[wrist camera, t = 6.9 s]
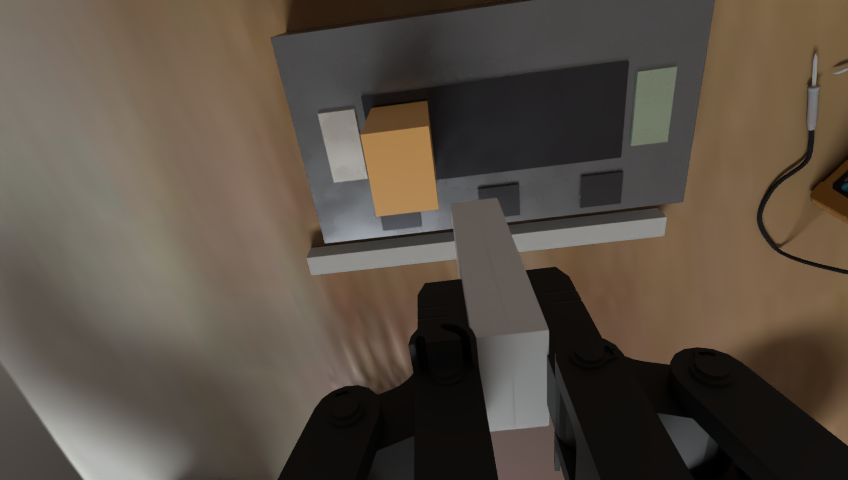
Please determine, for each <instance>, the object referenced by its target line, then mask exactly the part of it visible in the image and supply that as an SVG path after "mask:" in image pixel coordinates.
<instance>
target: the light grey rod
mask: <svg viewBox="0 0 848 480" xmlns="http://www.w3.org/2000/svg"><path fill="white" fill-rule="evenodd" d="M666 220H667V217H666V216H665V215H664V214H663V213H662V212H661V211H660V210H659V209H658V208H653V209H644V210H635V211H627V212H618V213H609V214H601V215H592V216H583V217H575V218H566V219H557V220H549V221H540V222H531V223H523V224H514V225H508V227H509V230H510V232H511V235H512V237H513V240H514V242H515V245H516V247H517V250H518V252H524V251H533V250H542V249H551V248H560V247H569V246H578V245H587V244H596V243H604V242H613V241H622V240H631V239H640V238H649V237H658V236H664V234H665V227H666ZM452 259H457V258H456V249H455V240H454V231H453V232H444V233H436V234H427V235H418V236H410V237H401V238H392V239H384V240H375V241H366V242H358V243H349V244H340V245H332V246H323V247H314V248H311V249H310V251H309V254H308V256H307V261H308V265H309V268H310V271H311V275H318V274H327V273H336V272H345V271H354V270H363V269H372V268H381V267H390V266H399V265H408V264H417V263H426V262H435V261H443V260H452Z"/></svg>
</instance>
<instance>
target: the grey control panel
mask: <svg viewBox="0 0 848 480" xmlns="http://www.w3.org/2000/svg"><path fill="white" fill-rule="evenodd" d="M714 2H715V0H509V1H502V2H495V3H488V4H481V5H474V6H467V7H460V8H453V9H446V10H439V11H432V12H425V13H418V14H411V15H404V16H397V17H390V18H383V19H376V20H369V21H362V22H355V23H348V24H341V25H334V26H327V27H320V28H313V29H306V30H299V31H292V32H285V33H282V34H280V35H277V36H274V37H271V42H272V45H273V49H274V53H275V57H276V60H277V64H278V68H279V72H280V76H281V79H282V83H283V87H284V91H285V94H286V98H287V102H288V106H289V109H290V113H291V117H292V121H293V125H294V128H295V132H296V136H297V140H298V143H299V147H300V151H301V155H302V158H303V162H304V166H305V170H306V173H307V177H308V181H309V185H310V189H311V192H312V196H313V200H314V204H315V207H316V211H317V215H318V219H319V222H320V226H321V230H322V234H323V238H324V241H325V243H333V242H342V241H350V240H359V239H368V238H376V237H385V236H394V235H402V234H411V233H420V232H428V231H437V230H446V229H453V222H452V213H451V204H450V203H458V202H466V201H474V200H482V199H490V198H497V199H498V201H499V204H500V207H501V209H502V212H503V214H504V217H505V219H506V222H515V221H523V220H532V219H541V218H549V217H558V216H567V215H575V214H584V213H593V212H601V211H610V210H619V209H627V208H636V207H645V206H653V205H662V204H671V203H679V202H683V199H684V193H685V187H686V180H687V174H688V167H689V161H690V155H691V148H692V142H693V136H694V129H695V123H696V116H697V110H698V104H699V97H700V91H701V85H702V78H703V72H704V65H705V59H706V53H707V46H708V40H709V34H710V27H711V21H712V14H713V8H714ZM422 101H427V103H428V112H429V120H430V128H431V136H432V144H433V153H434V161H435V169H436V180H437V193H438V205H439V209H438V210H429V211H421V212H412V213H404V214H395V215H387V216H378V217H376V212H375V207H374V202H373V197H372V192H371V187H370V182H369V177H368V172H367V167H366V162H365V156H364V151H363V146H362V141H361V136H360V134H361V132H362V129H363V127H364V124H365V122H366V120H367V117H368V115H369V112H370V110H371V108H376V107H384V106H392V105H399V104H407V103H414V102H422Z"/></svg>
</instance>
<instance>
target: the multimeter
mask: <svg viewBox="0 0 848 480" xmlns="http://www.w3.org/2000/svg"><path fill="white" fill-rule="evenodd" d="M817 61H818V59H817V55H816V53H815V56H814V59H813V74H812V85H811V86H809V87H807V90H808V108H807V127H808V130H809V141H808V152H807V156H806V158H805V160H804V161H803V162H802V163H801V164H800V165H799V166H798V167H796V168H795V169H793V170H792V171H790V172H789V173H787V174H786V175H784V176H783V177H782V178H780V179H779V180H778V181H777V182H776V183H775V184H774V185H773V186H772V187H771V188H770V189H769V191H768V192H767V194H766V196H765V197H764V199H763V201H762V203H761V205H760V208H759V211H758V215H757V222H758V226H759V229H760V231H761V233H762V235H763V237H764V238H765V239H766V241H767V242H768V243H769V245H770V246H771V247H772V248H773V249H774V250H776V251H777V252H778V253H780V254H782V255H784V256H786V257H788V258H790V259H793V260H795V261H798V262H801V263H804V264H808V265H811V266H815V267H818V268H822V269H827V270H831V271H835V272H839V273H844V274H848V270H844V269H839V268H835V267H830V266H826V265H822V264H818V263H814V262H810V261H807V260H803V259H800V258H797V257H794V256H792V255H789V254H787V253H785V252H783V251H781V250H780V249H779V248H778V247H776V246H775V244H774V243H773V242H772V241H771V240H770V238H769V237H768V235H767V234H766V232H765V230H764V227H763V224H762V213H763V210H764V207H765V205H766V203H767V201H768V199H769V197H770V196H771V194H772V193H773V191H774V190H775V189H776V188H777V187H778V185H779V184H781V183H782V182H783V181H784V180H786V179H787V178H789V177H790V176H792V175H793V174H795V173H796V172H798V171H799V170H800V169H802V168H803V167H804V166H805V165H806V164H807V163H808V162H809V160H810V159H811V156H812V152H813V144H814V129H815V127H816V123H817V113H818V96H819V89H820V85H816V78H817ZM847 70H848V67H845V68H843V69H840V70H838V71H837V72H835V73H833V74H837V73H842V72H844V71H847ZM810 197H811V201H812V202H814V203H815V204H816V205H818V206H819V207H821V208H822V209H823V210H825V211H826V212H828V213H829V214H831V215H832V216H834V217H835V218H838V219H841V220H842V221H844V222H846V223H847V224H848V159H847V160H846V161H845V162H844V163H843V164H842V165H841V166H840V167H839V168H838V169H837V170H836V171H835V172H834V173H832V174H831V175H830V176H829V177H828V178H827V179H826V180H825V181H824V182H820V183H819V184H818V185H817V186H816V187H815V188H814V190H813V191H812V192H811V194H810Z"/></svg>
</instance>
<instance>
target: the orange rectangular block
mask: <svg viewBox="0 0 848 480" xmlns="http://www.w3.org/2000/svg"><path fill="white" fill-rule="evenodd" d="M360 136H361V141H362V146H363V151H364V156H365V162H366V167H367V172H368V177H369V182H370V187H371V192H372V197H373V202H374V207H375V212H376V217H378V216H387V215H395V214H404V213H412V212H421V211H429V210H438V209H439V205H438V193H437V180H436V169H435V161H434V153H433V144H432V136H431V128H430V120H429V112H428V103H427V101H422V102H414V103H407V104H399V105H392V106H384V107H376V108H371V110H370V112H369V115H368V117H367V120H366V122H365V124H364V127H363V129H362V132H361V134H360Z"/></svg>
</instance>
